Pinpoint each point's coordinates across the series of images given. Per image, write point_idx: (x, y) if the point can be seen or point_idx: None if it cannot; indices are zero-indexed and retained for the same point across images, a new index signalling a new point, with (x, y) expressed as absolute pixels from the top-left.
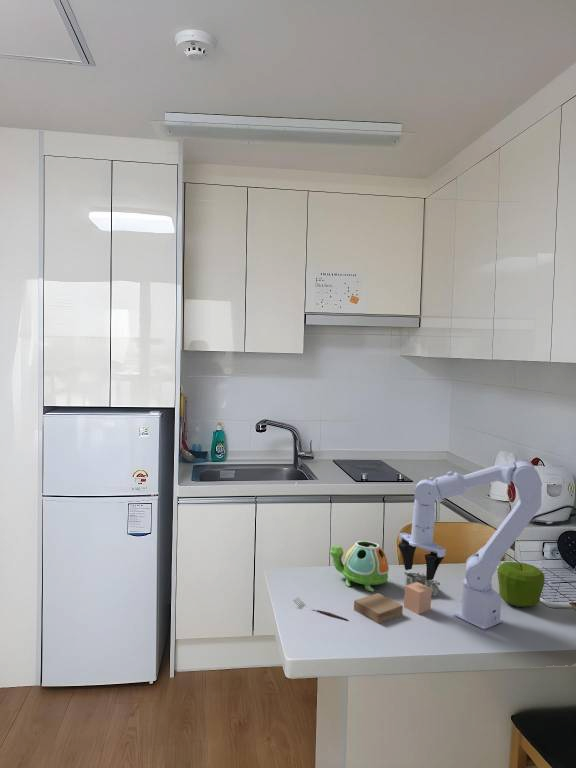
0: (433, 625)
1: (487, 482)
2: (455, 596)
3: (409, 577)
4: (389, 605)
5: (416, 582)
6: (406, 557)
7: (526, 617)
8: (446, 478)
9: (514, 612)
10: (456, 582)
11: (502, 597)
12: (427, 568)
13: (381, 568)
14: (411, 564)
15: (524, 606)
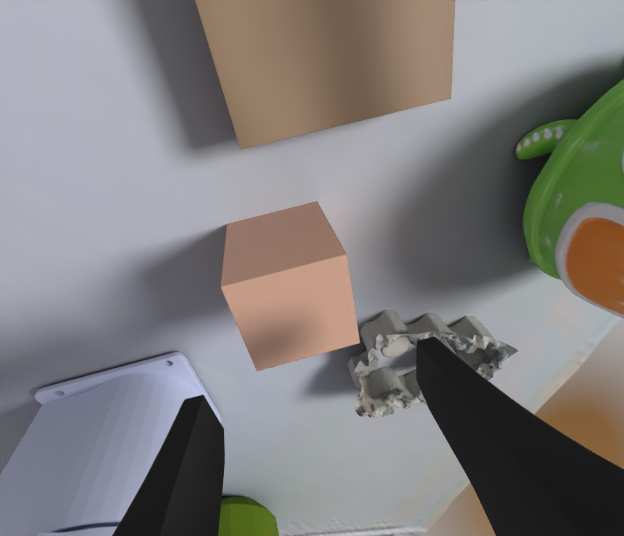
0: (95, 229)
1: None
2: (319, 411)
3: (476, 346)
4: (266, 50)
5: (357, 336)
6: (493, 442)
7: None
8: None
9: None
10: (394, 445)
11: (228, 508)
12: (154, 512)
13: (604, 240)
14: (434, 408)
15: None
